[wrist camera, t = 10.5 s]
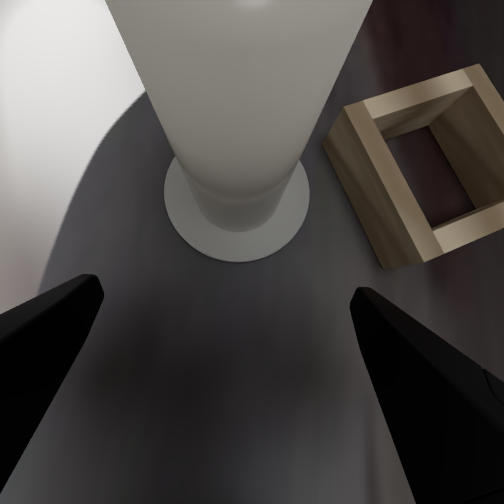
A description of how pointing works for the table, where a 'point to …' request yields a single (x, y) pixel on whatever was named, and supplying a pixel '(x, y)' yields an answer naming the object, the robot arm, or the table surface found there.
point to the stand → (452, 144)
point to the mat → (235, 243)
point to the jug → (238, 89)
